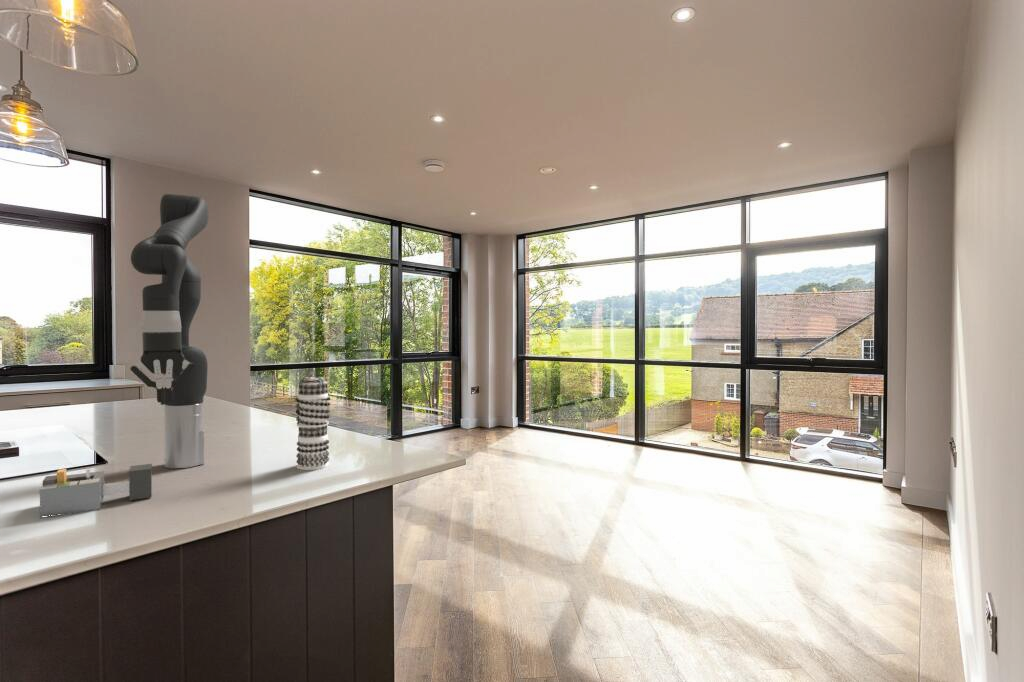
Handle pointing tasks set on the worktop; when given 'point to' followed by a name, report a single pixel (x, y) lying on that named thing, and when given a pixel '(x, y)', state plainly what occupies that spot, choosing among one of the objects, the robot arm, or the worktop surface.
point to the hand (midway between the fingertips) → (164, 404)
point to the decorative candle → (312, 423)
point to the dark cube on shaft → (131, 483)
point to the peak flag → (61, 475)
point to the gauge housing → (71, 494)
